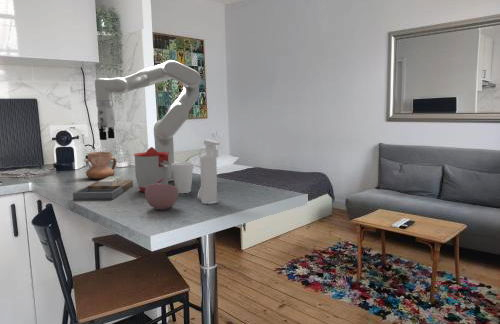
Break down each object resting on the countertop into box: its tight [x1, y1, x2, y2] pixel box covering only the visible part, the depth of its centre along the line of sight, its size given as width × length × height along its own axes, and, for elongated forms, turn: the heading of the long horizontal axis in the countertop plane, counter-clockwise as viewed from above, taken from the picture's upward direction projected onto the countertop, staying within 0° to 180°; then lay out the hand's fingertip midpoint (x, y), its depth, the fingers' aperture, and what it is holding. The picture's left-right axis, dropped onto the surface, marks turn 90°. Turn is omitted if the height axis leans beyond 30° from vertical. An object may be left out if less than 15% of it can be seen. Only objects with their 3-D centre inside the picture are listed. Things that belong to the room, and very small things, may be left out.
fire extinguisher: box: [196, 139, 221, 202], centre depth 148 cm, size 7×12×25 cm, turn 46°
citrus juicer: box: [133, 146, 170, 193], centre depth 171 cm, size 16×17×20 cm
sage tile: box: [105, 175, 123, 183], centre depth 178 cm, size 6×6×2 cm
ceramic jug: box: [83, 151, 117, 180], centre depth 204 cm, size 18×14×14 cm
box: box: [72, 186, 124, 201], centre depth 161 cm, size 16×14×3 cm
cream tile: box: [98, 179, 117, 186], centre depth 171 cm, size 6×6×2 cm
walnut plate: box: [86, 179, 134, 194], centre depth 175 cm, size 16×14×3 cm
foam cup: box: [172, 161, 194, 194], centre depth 167 cm, size 10×9×13 cm
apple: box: [144, 178, 179, 210], centre depth 139 cm, size 12×12×11 cm
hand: (107, 139), depth 187 cm, fingers open, 9 cm apart
